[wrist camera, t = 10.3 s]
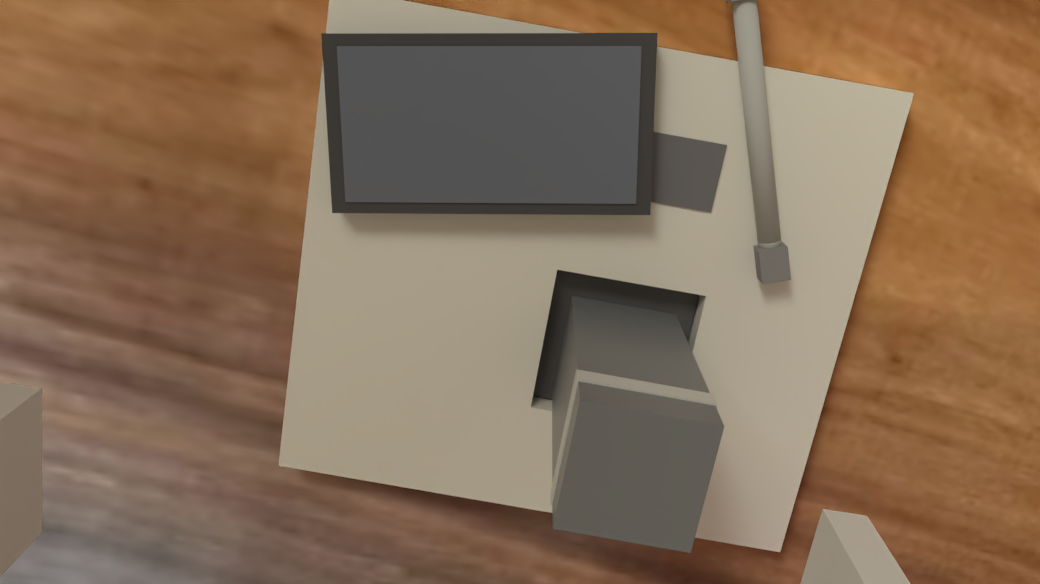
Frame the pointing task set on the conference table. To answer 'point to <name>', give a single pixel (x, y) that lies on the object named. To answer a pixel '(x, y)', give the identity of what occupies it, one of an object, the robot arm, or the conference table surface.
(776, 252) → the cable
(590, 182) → the phone
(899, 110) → the outlet plate
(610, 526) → the gray rectangular block
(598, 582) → the conference table surface
